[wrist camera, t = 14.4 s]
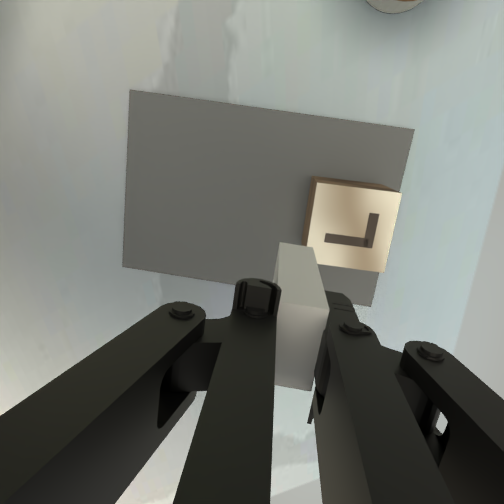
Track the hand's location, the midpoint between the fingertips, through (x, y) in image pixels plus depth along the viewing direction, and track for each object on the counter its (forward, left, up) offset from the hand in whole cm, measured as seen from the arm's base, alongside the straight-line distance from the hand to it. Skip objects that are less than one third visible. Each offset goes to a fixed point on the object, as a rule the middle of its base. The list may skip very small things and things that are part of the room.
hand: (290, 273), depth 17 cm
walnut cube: (+5, 0, -11) cm, 12 cm away
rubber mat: (-3, 0, -18) cm, 18 cm away
